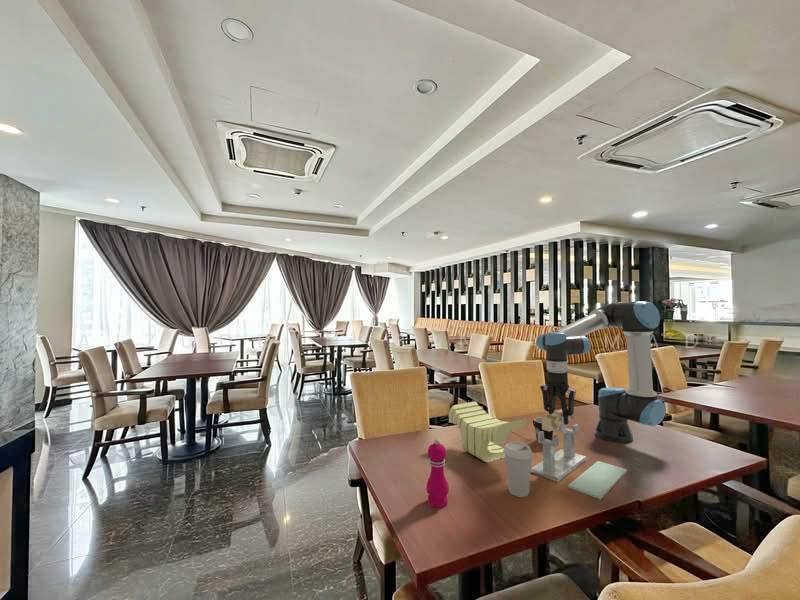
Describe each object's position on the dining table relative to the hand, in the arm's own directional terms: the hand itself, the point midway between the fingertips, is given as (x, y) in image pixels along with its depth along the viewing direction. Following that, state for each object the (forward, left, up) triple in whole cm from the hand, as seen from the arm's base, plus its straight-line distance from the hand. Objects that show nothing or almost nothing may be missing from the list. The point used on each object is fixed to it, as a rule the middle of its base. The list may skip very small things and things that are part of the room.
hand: (559, 430), depth 131 cm
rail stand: (0, 0, -14) cm, 14 cm away
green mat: (0, +14, -14) cm, 19 cm away
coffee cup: (+29, -1, -14) cm, 32 cm away
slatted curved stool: (+12, -26, -14) cm, 32 cm away
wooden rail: (0, 0, +3) cm, 3 cm away
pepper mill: (+54, -15, -14) cm, 58 cm away
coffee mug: (-20, -16, -14) cm, 29 cm away
